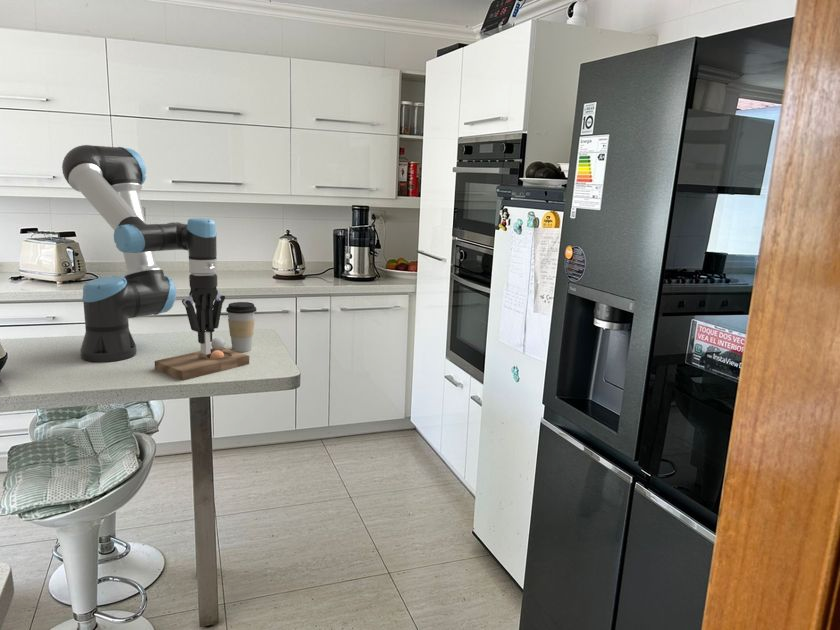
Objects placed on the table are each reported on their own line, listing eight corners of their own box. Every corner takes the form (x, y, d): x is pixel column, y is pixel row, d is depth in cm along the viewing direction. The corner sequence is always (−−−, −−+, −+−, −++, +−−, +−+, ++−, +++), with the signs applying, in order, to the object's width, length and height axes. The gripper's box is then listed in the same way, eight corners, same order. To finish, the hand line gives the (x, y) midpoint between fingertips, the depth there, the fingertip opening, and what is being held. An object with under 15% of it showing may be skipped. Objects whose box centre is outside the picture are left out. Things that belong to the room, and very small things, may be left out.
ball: (207, 363, 182) (207, 350, 181) (218, 360, 185) (218, 347, 184) (216, 366, 180) (216, 353, 179) (227, 363, 183) (227, 350, 182)
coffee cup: (226, 354, 192) (225, 307, 189) (227, 346, 201) (226, 301, 198) (257, 353, 195) (256, 307, 192) (256, 345, 204) (256, 301, 201)
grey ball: (208, 350, 187) (208, 337, 186) (220, 347, 190) (219, 335, 189) (216, 352, 184) (216, 340, 184) (227, 350, 188) (227, 337, 187)
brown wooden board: (154, 369, 175) (154, 360, 174) (220, 354, 192) (220, 346, 191) (182, 380, 166) (182, 371, 166) (249, 363, 184) (249, 355, 183)
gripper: (190, 277, 167) (193, 360, 172) (230, 273, 177) (232, 351, 182) (174, 274, 171) (178, 355, 176) (215, 270, 181) (217, 346, 186)
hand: (205, 353), depth 179 cm, fingers closed
